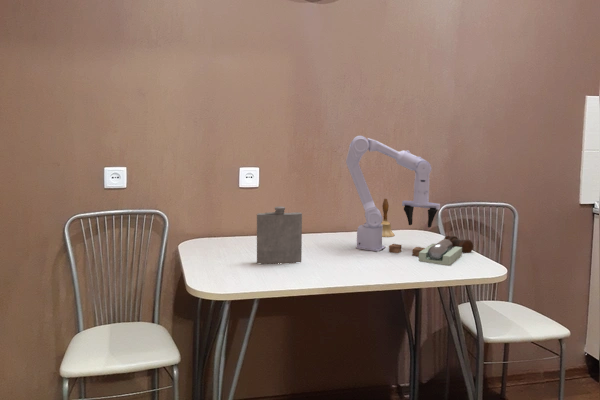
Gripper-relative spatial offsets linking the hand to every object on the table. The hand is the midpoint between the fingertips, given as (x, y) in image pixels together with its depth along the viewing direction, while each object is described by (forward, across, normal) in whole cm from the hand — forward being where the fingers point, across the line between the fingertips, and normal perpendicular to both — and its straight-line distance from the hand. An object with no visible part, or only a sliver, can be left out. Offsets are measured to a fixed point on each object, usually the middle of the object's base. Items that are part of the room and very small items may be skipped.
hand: (419, 226), depth 221 cm
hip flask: (+10, -36, -45) cm, 58 cm away
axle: (+6, +11, -9) cm, 15 cm away
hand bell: (+10, -21, +17) cm, 29 cm away
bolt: (+10, +12, +11) cm, 19 cm away
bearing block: (+9, -2, -8) cm, 13 cm away
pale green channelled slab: (+9, +11, -8) cm, 17 cm away
